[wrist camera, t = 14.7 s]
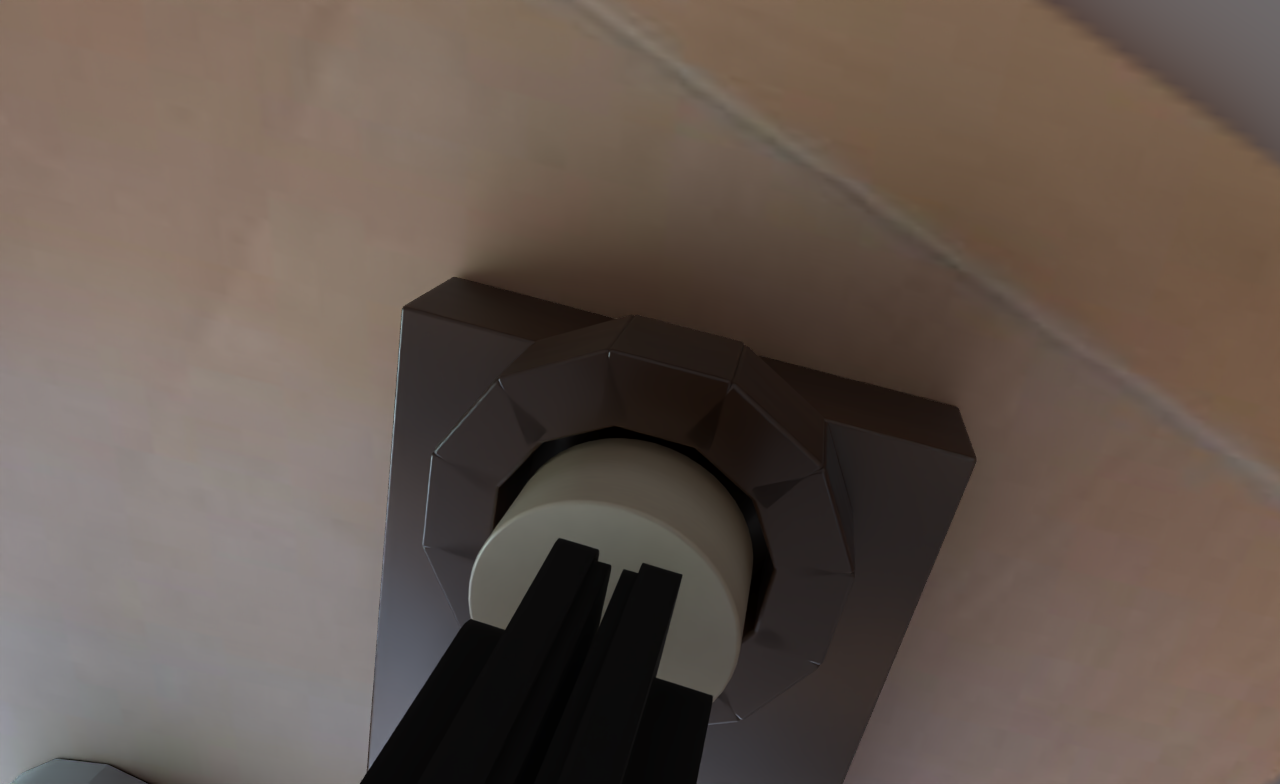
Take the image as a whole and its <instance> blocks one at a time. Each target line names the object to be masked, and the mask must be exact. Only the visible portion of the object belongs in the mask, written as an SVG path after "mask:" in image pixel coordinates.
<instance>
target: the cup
mask: <svg viewBox="0 0 1280 784" xmlns="http://www.w3.org/2000/svg"><path fill="white" fill-rule="evenodd" d="M10 784H147V783H145V782H143V781H141V780H139V779H137V778H135V777H133V776H131V775H128V774H126V773H124V772H122V771H120V770H118V769H116V768H114V767H112V766H110V765H107V764H99V763H90V762H82V761H73V760H65V759H54V760H52V761H50V762H47V763H45V764H43V765H40V766H38V767H35V768H33V769H31V770H28V771H26V772H24V773H22V774H20V775H19V776H18V777H17V778H16V779H15V780H14V781H13V782H11V783H10Z"/></svg>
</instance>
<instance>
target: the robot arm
mask: <svg viewBox="0 0 1280 784" xmlns="http://www.w3.org/2000/svg"><path fill="white" fill-rule="evenodd" d="M598 559H599V549H596V548H592V547H589V546H586V545H582V544H579V543H576V542H572V541H569V540H566V539H562V538H558V539H557V541H556V542H555V544H554V545H553V547H552V549H551V550H550V552H549V554H548V556H547V557H546V559H545V561H544V563H543V564H542V566H541V568H540V570H539V571H538V573H537V575H536V577H535V578H534V580H533V582H532V584H531V585H530V587H529V589H528V591H527V592H526V594H525V596H524V598H523V599H522V601H521V603H520V605H519V606H518V608H517V610H516V612H515V613H514V615H513V617H512V619H511V620H510V622H509V624H508V626H507V627H506V629H505V630H504V629H501V628H498V627H495V626H492V625H489V624H485V623H482V622H479V621H476V620H473V619H470V620H468V621H467V622H465V624H464V625H463V626H462V628H461V629H460V630H459V632H458V633H457V635H456V636H455V638H454V639H453V641H452V642H451V644H450V646H449V647H448V649H447V650H446V652H445V653H444V655H443V656H442V658H441V659H440V661H439V662H438V664H437V666H436V667H435V669H434V670H433V672H432V673H431V675H430V676H429V678H428V679H427V681H426V683H425V684H424V686H423V687H422V689H421V690H420V692H419V693H418V695H417V696H416V698H415V699H414V701H413V703H412V704H411V706H410V707H409V709H408V710H407V712H406V713H405V715H404V716H403V718H402V720H401V721H400V723H399V724H398V726H397V727H396V729H395V730H394V732H393V733H392V735H391V736H390V738H389V740H388V741H387V743H386V744H385V746H384V747H383V749H382V750H381V752H380V753H379V755H378V756H377V758H376V760H375V761H374V763H373V764H372V766H371V767H370V769H369V770H368V772H367V773H366V775H365V777H364V778H363V780H362V781H361V783H360V784H696V783H697V778H698V773H699V768H700V763H701V758H702V753H703V748H704V743H705V738H706V733H707V728H708V723H709V718H710V713H711V707H712V701H713V695H710V694H707V693H703V692H700V691H697V690H694V689H691V688H688V687H684V686H681V685H678V684H675V683H672V682H669V681H665V680H662V679H659V678H656V676H657V672H658V668H659V664H660V660H661V657H662V653H663V649H664V645H665V641H666V637H667V634H668V630H669V626H670V622H671V618H672V615H673V611H674V607H675V603H676V599H677V596H678V592H679V588H680V584H681V580H682V576H683V574H679V573H676V572H673V571H669V570H666V569H663V568H659V567H656V566H653V565H649V564H646V563H642V565H641V567H640V569H639V572H638V573H636V572H633V571H630V570H626V569H623V571H622V573H621V575H620V578H619V580H618V582H617V585H616V587H615V590H614V592H613V594H612V597H611V599H610V602H609V604H608V606H607V609H606V611H605V614H604V616H603V619H602V621H601V623H600V620H601V615H602V610H603V606H604V601H605V597H606V592H607V587H608V583H609V578H610V573H611V565H610V564H606V563H603V562H600V561H598ZM599 624H600V626H599Z"/></svg>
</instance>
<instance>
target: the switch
mask: <svg viewBox="0 0 1280 784" xmlns="http://www.w3.org/2000/svg"><path fill="white" fill-rule="evenodd" d="M558 538H562V539H566V540H569V541H572V542H576V543H579V544H582V545H586V546H589V547H592V548H596V549H599V559H598V561H600V562H603V563H606V564H610V565H611V573H610V578H609V583H608V587H607V592H606V597H605V601H604V606H603V610H602V615H601V620H600V623H601V621H602V619H603V616H604V614H605V611H606V609H607V606H608V604H609V602H610V599H611V597H612V594H613V592H614V590H615V587H616V585H617V582H618V580H619V578H620V575H621V573H622V571H623V569H626V570H630V571H633V572H636V573H638V572H639V569H640V567H641V565H642V563H646V564H649V565H653V566H656V567H659V568H663V569H666V570H669V571H673V572H676V573H679V574H683V576H682V580H681V584H680V588H679V592H678V596H677V599H676V603H675V607H674V611H673V615H672V618H671V622H670V626H669V630H668V634H667V637H666V641H665V645H664V649H663V653H662V657H661V660H660V664H659V668H658V672H657V676H656V678H659V679H662V680H665V681H669V682H672V683H675V684H678V685H681V686H684V687H688V688H691V689H694V690H697V691H700V692H703V693H707V694H710V695H713V701H712V703H713V702H714V701H715V700H716V699H717V697H718V696H719V695H720V694H721V693H722V692H723V691H724V689H725V688H726V686H727V684H728V683H729V681H730V679H731V678H732V675H733V673H734V671H735V668H736V666H737V662H738V658H739V653H740V649H741V642H742V636H743V629H744V623H745V616H746V610H747V603H748V597H749V591H750V584H751V578H752V571H753V548H752V541H751V536H750V532H749V528H748V526H747V523H746V521H745V518H744V516H743V514H742V512H741V510H740V508H739V507H738V505H737V503H736V501H735V500H734V499H733V497H732V496H731V495H730V493H729V492H728V491H727V489H726V488H725V487H724V486H723V485H722V484H721V483H720V482H719V481H718V480H717V479H716V478H715V476H714V475H712V474H711V473H710V472H709V471H707V470H706V469H705V468H704V467H702V466H701V465H700V464H698V463H697V462H695V461H694V460H692V459H690V458H689V457H687V456H685V455H683V454H681V453H679V452H677V451H675V450H673V449H671V448H668V447H665V446H662V445H659V444H656V443H652V442H647V441H643V440H637V439H627V438H608V439H600V440H594V441H588V442H585V443H582V444H578V445H575V446H573V447H570V448H568V449H566V450H564V451H562V452H560V453H558V454H557V455H555V456H554V457H552V458H551V459H549V460H548V461H547V462H546V463H544V464H543V465H542V466H541V467H540V468H539V469H538V470H537V471H536V472H535V473H534V475H533V476H532V477H531V478H530V480H529V481H528V482H527V484H526V485H525V487H524V488H523V489H522V491H521V492H520V494H519V495H518V496H517V498H516V499H515V501H514V502H513V503H512V505H511V506H510V508H509V509H508V511H507V512H506V513H505V515H504V516H503V518H502V519H501V520H500V522H499V523H498V525H497V526H496V527H495V529H494V530H493V532H492V533H491V534H490V536H489V537H488V539H487V540H486V542H485V543H484V545H483V546H482V548H481V550H480V551H479V553H478V555H477V557H476V560H475V562H474V565H473V568H472V572H471V576H470V581H469V596H468V600H469V611H470V617H471V619H473V620H476V621H479V622H482V623H485V624H489V625H492V626H495V627H498V628H501V629H504V630H505V629H506V627H507V626H508V624H509V622H510V620H511V619H512V617H513V615H514V613H515V612H516V610H517V608H518V606H519V605H520V603H521V601H522V599H523V598H524V596H525V594H526V592H527V591H528V589H529V587H530V585H531V584H532V582H533V580H534V578H535V577H536V575H537V573H538V571H539V570H540V568H541V566H542V564H543V563H544V561H545V559H546V557H547V556H548V554H549V552H550V550H551V549H552V547H553V545H554V544H555V542H556V541H557V539H558ZM599 626H600V624H599Z"/></svg>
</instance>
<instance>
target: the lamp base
mask: <svg viewBox="0 0 1280 784" xmlns="http://www.w3.org/2000/svg"><path fill="white" fill-rule="evenodd" d="M608 438H627V439H637V440H643V441H647V442H652V443H656V444H659V445H662V446H665V447H668V448H671V449H673V450H675V451H677V452H679V453H681V454H683V455H685V456H687V457H689V458H690V459H692V460H694V461H695V462H697V463H698V464H700V465H701V466H702V467H704V468H705V469H706V470H707V471H709V472H710V473H711V474H712V475H714V476H715V478H716V479H717V480H718V481H719V482H720V483H721V484H722V485H723V486H724V487H725V488H726V489H727V491H728V492H729V493H730V495H731V496H732V497H733V499H734V500H735V501H736V503H737V505H738V507H739V508H740V510H741V512H742V514H743V516H744V518H745V521H746V523H747V526H748V528H749V532H750V536H751V541H752V548H753V571H752V578H751V584H750V591H749V597H748V603H747V610H746V616H745V623H744V629H743V636H742V642H741V649H740V653H739V658H738V662H737V666H736V668H735V671H734V673H733V675H732V678H731V679H730V681H729V683H728V684H727V686H726V688H725V689H724V691H723V692H722V693H721V694H720V695H719V696H718V697H717V699H716V700H715V701H714V702H713V703H712V707H711V713H710V718H709V723H708V728H707V733H706V738H705V743H704V748H703V753H702V758H701V763H700V768H699V773H698V778H697V783H696V784H843V782H844V779H845V777H846V774H847V772H848V770H849V767H850V765H851V762H852V760H853V758H854V755H855V753H856V750H857V748H858V746H859V743H860V741H861V738H862V736H863V733H864V731H865V729H866V726H867V724H868V721H869V719H870V717H871V714H872V712H873V709H874V707H875V705H876V702H877V700H878V697H879V695H880V693H881V690H882V688H883V685H884V683H885V681H886V678H887V676H888V673H889V671H890V669H891V666H892V664H893V661H894V659H895V657H896V654H897V652H898V649H899V647H900V645H901V642H902V640H903V637H904V635H905V632H906V630H907V628H908V625H909V623H910V620H911V618H912V616H913V613H914V611H915V608H916V606H917V604H918V601H919V599H920V596H921V594H922V592H923V589H924V587H925V584H926V582H927V580H928V577H929V575H930V572H931V570H932V568H933V565H934V563H935V560H936V558H937V556H938V553H939V551H940V548H941V546H942V543H943V541H944V539H945V536H946V534H947V531H948V529H949V527H950V524H951V522H952V519H953V517H954V515H955V512H956V510H957V507H958V505H959V503H960V500H961V498H962V495H963V493H964V491H965V488H966V486H967V483H968V481H969V479H970V476H971V474H972V471H973V469H974V467H975V464H976V462H977V459H976V456H975V453H974V450H973V447H972V444H971V441H970V439H969V436H968V433H967V430H966V427H965V425H964V422H963V419H962V416H961V413H960V410H959V408H958V407H956V406H952V405H948V404H944V403H940V402H936V401H932V400H928V399H925V398H921V397H917V396H913V395H909V394H905V393H901V392H898V391H894V390H890V389H886V388H882V387H878V386H874V385H870V384H867V383H863V382H859V381H855V380H851V379H847V378H843V377H840V376H836V375H832V374H828V373H824V372H820V371H816V370H813V369H809V368H805V367H801V366H797V365H793V364H789V363H785V362H782V361H778V360H774V359H770V358H766V357H762V356H758V355H757V354H756V353H755V352H754V351H753V350H751V349H750V348H749V347H748V346H746V345H744V343H743V342H741V341H738V340H734V339H730V338H726V337H722V336H718V335H714V334H710V333H706V332H703V331H699V330H695V329H691V328H687V327H683V326H679V325H675V324H671V323H668V322H664V321H660V320H656V319H652V318H648V317H644V316H640V315H635V316H634V315H629V316H625V317H621V318H618V319H615V318H611V317H608V316H604V315H600V314H596V313H592V312H588V311H584V310H581V309H577V308H573V307H569V306H565V305H561V304H557V303H553V302H550V301H546V300H542V299H538V298H534V297H530V296H526V295H523V294H519V293H515V292H511V291H507V290H503V289H499V288H496V287H492V286H488V285H484V284H480V283H476V282H472V281H468V280H465V279H461V278H457V277H452V278H451V279H449V280H447V281H445V282H444V283H442V284H440V285H439V286H437V287H435V288H434V289H432V290H430V291H429V292H427V293H425V294H423V295H422V296H420V297H418V298H417V299H415V300H413V301H412V302H410V303H408V304H407V305H405V306H403V308H402V315H401V328H400V342H399V355H398V368H397V381H396V394H395V407H394V421H393V434H392V447H391V460H390V473H389V486H388V500H387V513H386V526H385V539H384V552H383V565H382V579H381V592H380V605H379V618H378V631H377V644H376V658H375V671H374V684H373V697H372V710H371V723H370V737H369V750H368V763H367V772H368V770H369V769H370V767H371V766H372V764H373V763H374V761H375V760H376V758H377V756H378V755H379V753H380V752H381V750H382V749H383V747H384V746H385V744H386V743H387V741H388V740H389V738H390V736H391V735H392V733H393V732H394V730H395V729H396V727H397V726H398V724H399V723H400V721H401V720H402V718H403V716H404V715H405V713H406V712H407V710H408V709H409V707H410V706H411V704H412V703H413V701H414V699H415V698H416V696H417V695H418V693H419V692H420V690H421V689H422V687H423V686H424V684H425V683H426V681H427V679H428V678H429V676H430V675H431V673H432V672H433V670H434V669H435V667H436V666H437V664H438V662H439V661H440V659H441V658H442V656H443V655H444V653H445V652H446V650H447V649H448V647H449V646H450V644H451V642H452V641H453V639H454V638H455V636H456V635H457V633H458V632H459V630H460V629H461V628H462V626H463V625H464V624H465V622H467V621H468V620H470V619H471V617H470V611H469V600H468V596H469V581H470V576H471V572H472V568H473V565H474V562H475V560H476V557H477V555H478V553H479V551H480V550H481V548H482V546H483V545H484V543H485V542H486V540H487V539H488V537H489V536H490V534H491V533H492V532H493V530H494V529H495V527H496V526H497V525H498V523H499V522H500V520H501V519H502V518H503V516H504V515H505V513H506V512H507V511H508V509H509V508H510V506H511V505H512V503H513V502H514V501H515V499H516V498H517V496H518V495H519V494H520V492H521V491H522V489H523V488H524V487H525V485H526V484H527V482H528V481H529V480H530V478H531V477H532V476H533V475H534V473H535V472H536V471H537V470H538V469H539V468H540V467H541V466H542V465H543V464H544V463H546V462H547V461H548V460H549V459H551V458H552V457H554V456H555V455H557V454H558V453H560V452H562V451H564V450H566V449H568V448H570V447H573V446H575V445H578V444H582V443H585V442H588V441H594V440H600V439H608Z"/></svg>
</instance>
